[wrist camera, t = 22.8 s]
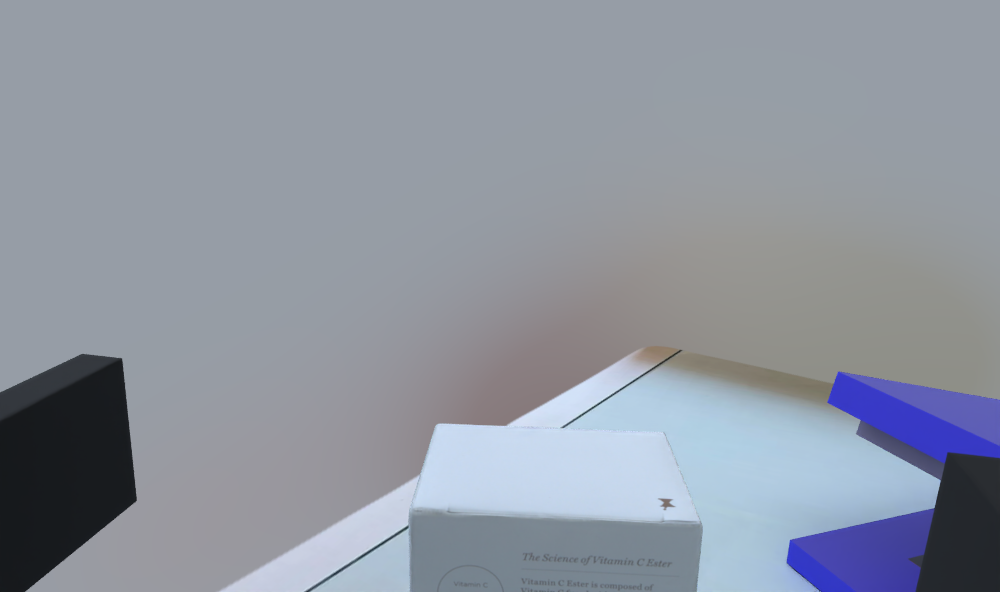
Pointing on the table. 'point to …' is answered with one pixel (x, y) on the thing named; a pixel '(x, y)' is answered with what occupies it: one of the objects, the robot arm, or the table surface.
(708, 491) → the table surface
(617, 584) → the small box
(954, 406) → the stapler
